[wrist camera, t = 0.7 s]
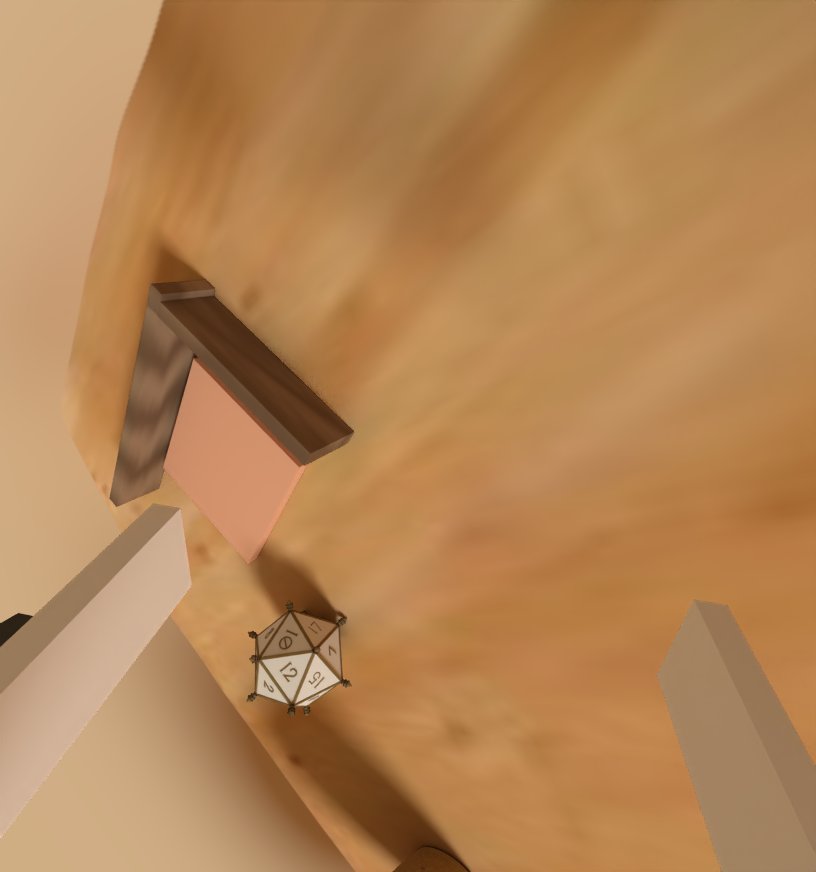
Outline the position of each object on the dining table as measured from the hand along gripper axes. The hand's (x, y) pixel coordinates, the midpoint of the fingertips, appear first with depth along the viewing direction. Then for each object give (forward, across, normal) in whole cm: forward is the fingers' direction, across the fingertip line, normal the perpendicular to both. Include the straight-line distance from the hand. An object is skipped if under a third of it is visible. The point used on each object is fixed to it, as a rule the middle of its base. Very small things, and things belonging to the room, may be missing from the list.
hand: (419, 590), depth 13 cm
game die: (+21, -8, -27) cm, 35 cm away
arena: (+26, -19, -15) cm, 35 cm away
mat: (+26, -19, -15) cm, 35 cm away
